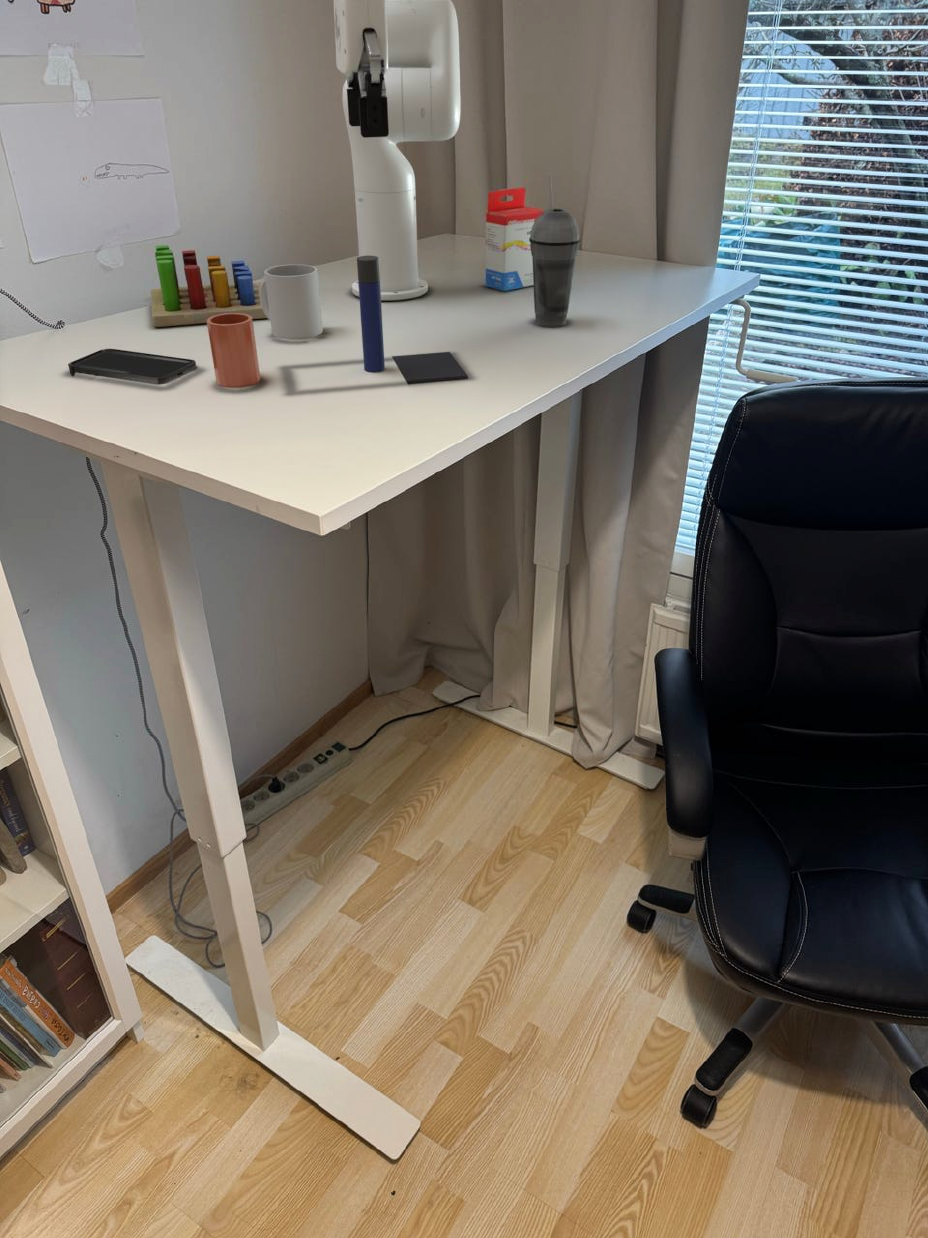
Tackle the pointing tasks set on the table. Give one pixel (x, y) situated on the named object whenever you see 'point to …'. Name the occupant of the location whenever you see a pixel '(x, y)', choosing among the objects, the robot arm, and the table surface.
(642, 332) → the table surface
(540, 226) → the beverage cup
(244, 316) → the tumbler
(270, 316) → the cup
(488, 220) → the ink box
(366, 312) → the marker
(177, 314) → the peg board
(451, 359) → the desk mat
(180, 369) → the phone
